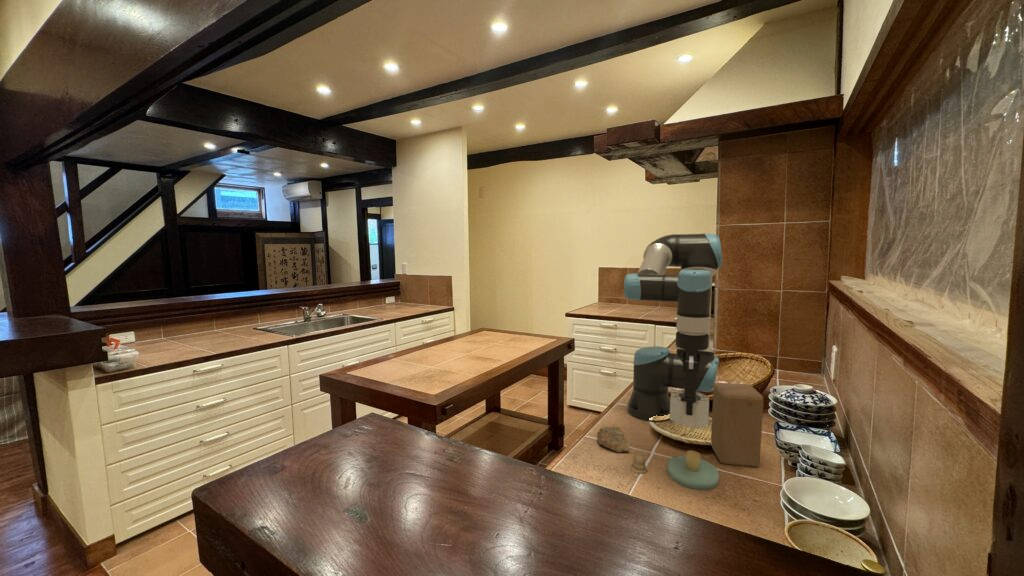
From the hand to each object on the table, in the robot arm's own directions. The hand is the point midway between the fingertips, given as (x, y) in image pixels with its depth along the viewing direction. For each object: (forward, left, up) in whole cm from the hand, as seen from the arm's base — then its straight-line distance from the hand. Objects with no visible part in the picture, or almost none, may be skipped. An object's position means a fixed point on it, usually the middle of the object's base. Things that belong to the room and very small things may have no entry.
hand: (688, 418), depth 101 cm
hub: (0, +1, -15) cm, 15 cm away
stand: (+2, -12, -15) cm, 19 cm away
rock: (-9, -20, -16) cm, 27 cm away
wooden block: (-14, +12, -16) cm, 25 cm away
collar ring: (0, 0, 0) cm, 0 cm away
